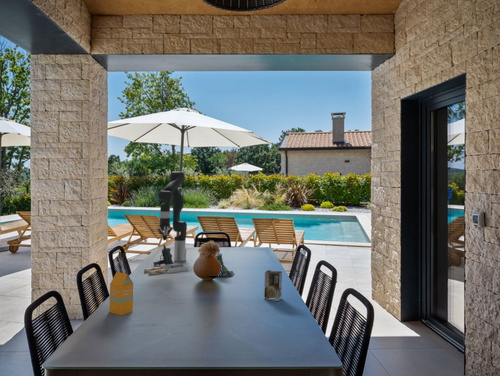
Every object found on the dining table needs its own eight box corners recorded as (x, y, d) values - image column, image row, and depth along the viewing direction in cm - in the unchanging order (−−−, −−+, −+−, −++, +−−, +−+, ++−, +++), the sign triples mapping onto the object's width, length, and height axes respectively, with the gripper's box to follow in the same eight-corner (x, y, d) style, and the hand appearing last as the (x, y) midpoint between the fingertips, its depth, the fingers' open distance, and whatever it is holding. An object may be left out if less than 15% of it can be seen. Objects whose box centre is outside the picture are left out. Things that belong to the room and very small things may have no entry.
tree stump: (240, 275, 275) (237, 252, 271) (218, 286, 262) (215, 262, 259) (225, 269, 289) (222, 247, 285) (204, 279, 276) (200, 256, 272)
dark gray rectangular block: (175, 269, 287) (175, 264, 287) (178, 270, 284) (178, 265, 284) (170, 269, 284) (170, 264, 284) (173, 270, 281) (173, 265, 281)
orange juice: (120, 315, 187) (121, 275, 187) (108, 311, 192) (109, 272, 191) (132, 311, 194) (133, 272, 193) (121, 307, 198) (122, 270, 198)
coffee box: (281, 298, 223) (282, 271, 222) (278, 301, 216) (279, 273, 216) (266, 296, 225) (267, 269, 225) (263, 299, 219) (264, 272, 219)
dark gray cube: (180, 268, 289) (180, 263, 289) (182, 269, 286) (182, 264, 286) (175, 269, 287) (175, 264, 287) (178, 270, 284) (178, 265, 283)
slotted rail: (161, 270, 282) (161, 266, 282) (167, 272, 275) (167, 269, 275) (144, 272, 273) (144, 269, 273) (149, 275, 266) (149, 271, 266)
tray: (178, 266, 294) (178, 263, 294) (187, 270, 284) (187, 266, 284) (160, 269, 284) (160, 265, 284) (168, 273, 274) (168, 269, 274)
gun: (150, 247, 296) (168, 242, 299) (155, 268, 297) (174, 263, 299) (149, 248, 294) (168, 243, 296) (154, 269, 295) (173, 264, 297)
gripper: (170, 216, 290) (169, 238, 291) (154, 217, 282) (154, 240, 282) (175, 217, 285) (174, 240, 286) (159, 218, 276) (159, 241, 277)
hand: (164, 240), depth 284 cm, fingers closed
